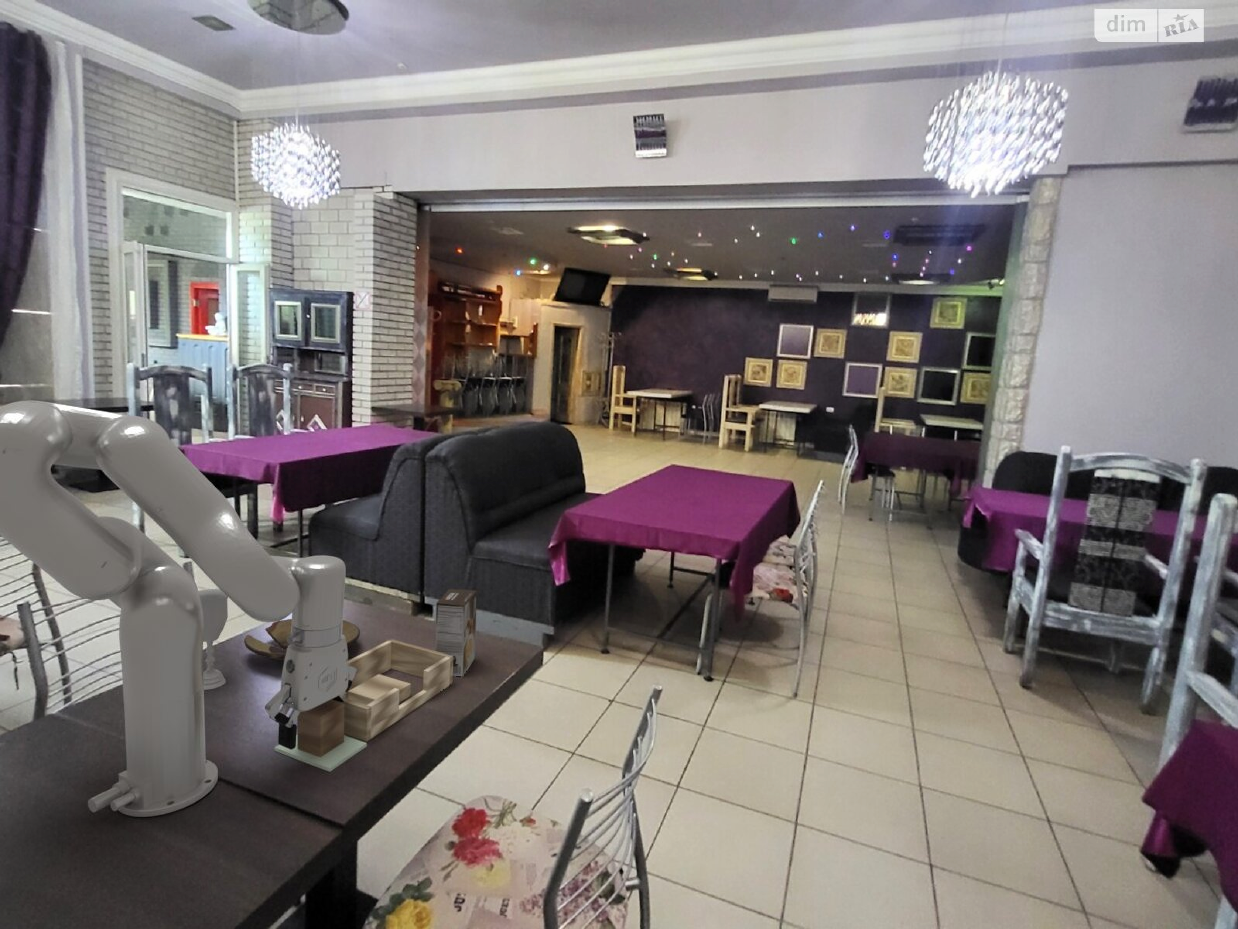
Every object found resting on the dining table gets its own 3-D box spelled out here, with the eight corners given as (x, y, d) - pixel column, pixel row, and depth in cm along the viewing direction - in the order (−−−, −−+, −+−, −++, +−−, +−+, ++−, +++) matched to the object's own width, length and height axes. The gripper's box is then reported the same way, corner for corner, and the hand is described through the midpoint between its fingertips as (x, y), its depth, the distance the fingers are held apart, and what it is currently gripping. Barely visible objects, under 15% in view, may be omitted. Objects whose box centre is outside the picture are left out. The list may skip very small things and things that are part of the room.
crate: (366, 741, 112) (366, 709, 111) (297, 717, 118) (297, 686, 117) (452, 683, 134) (453, 656, 133) (390, 665, 140) (391, 639, 139)
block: (320, 757, 106) (320, 717, 105) (297, 749, 108) (297, 709, 107) (343, 742, 110) (344, 703, 109) (321, 734, 112) (321, 696, 111)
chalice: (240, 677, 131) (238, 591, 128) (215, 693, 124) (214, 603, 121) (205, 673, 131) (203, 587, 129) (179, 689, 125) (177, 599, 122)
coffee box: (447, 656, 146) (449, 587, 144) (475, 659, 146) (478, 590, 144) (433, 675, 137) (435, 602, 135) (463, 678, 137) (466, 604, 134)
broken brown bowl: (216, 670, 133) (215, 634, 132) (313, 618, 162) (313, 588, 161) (312, 688, 129) (312, 651, 128) (395, 631, 158) (395, 600, 157)
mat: (329, 772, 103) (329, 768, 103) (274, 750, 108) (274, 747, 108) (366, 746, 111) (366, 743, 111) (313, 727, 115) (313, 724, 115)
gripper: (287, 657, 96) (282, 766, 98) (374, 623, 112) (368, 717, 114) (251, 644, 99) (247, 750, 101) (341, 613, 115) (336, 705, 117)
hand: (311, 733), depth 108 cm, fingers open, 9 cm apart
